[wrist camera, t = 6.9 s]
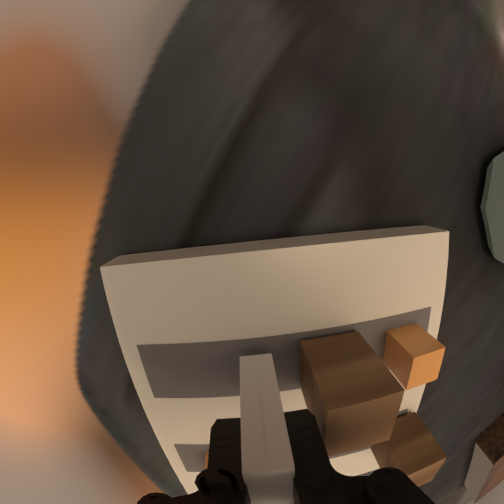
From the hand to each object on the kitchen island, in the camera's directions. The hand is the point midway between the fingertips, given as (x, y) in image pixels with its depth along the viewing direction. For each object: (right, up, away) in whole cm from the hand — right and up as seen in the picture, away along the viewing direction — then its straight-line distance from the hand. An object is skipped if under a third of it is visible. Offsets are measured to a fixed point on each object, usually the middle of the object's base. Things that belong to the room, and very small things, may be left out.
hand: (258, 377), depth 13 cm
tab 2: (+10, -7, +3) cm, 12 cm away
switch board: (+2, -3, +4) cm, 6 cm away
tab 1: (+4, 0, +1) cm, 4 cm away
